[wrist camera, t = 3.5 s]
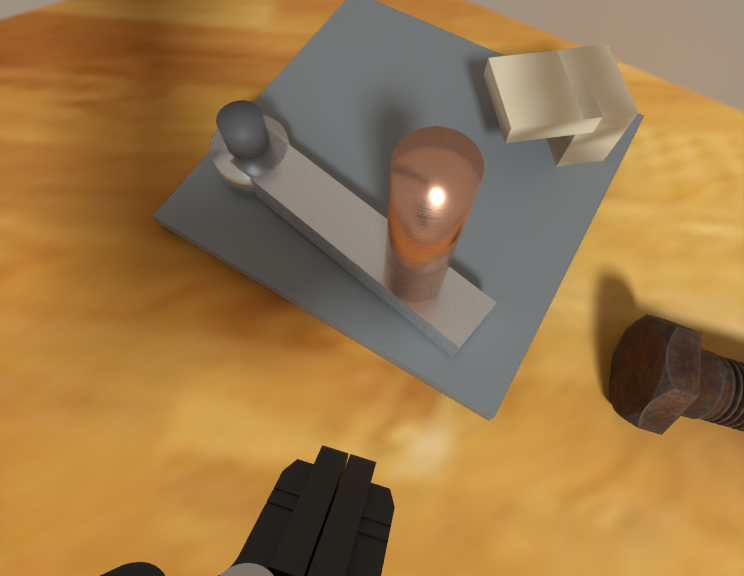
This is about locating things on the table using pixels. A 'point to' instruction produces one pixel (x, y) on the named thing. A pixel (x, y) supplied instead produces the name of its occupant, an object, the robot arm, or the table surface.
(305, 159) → the link
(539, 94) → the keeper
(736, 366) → the bolt
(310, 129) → the board
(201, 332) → the table surface
